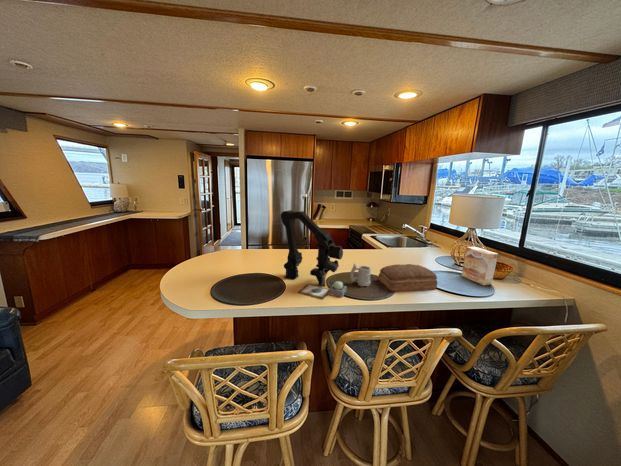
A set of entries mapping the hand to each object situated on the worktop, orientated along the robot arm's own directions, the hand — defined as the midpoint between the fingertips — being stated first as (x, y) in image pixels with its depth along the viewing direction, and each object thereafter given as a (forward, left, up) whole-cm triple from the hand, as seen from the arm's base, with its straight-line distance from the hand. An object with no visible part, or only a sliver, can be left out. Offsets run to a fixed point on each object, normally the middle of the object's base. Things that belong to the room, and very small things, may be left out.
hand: (321, 282), depth 134 cm
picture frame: (0, -9, -2) cm, 9 cm away
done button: (+11, -4, 0) cm, 12 cm away
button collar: (+11, -4, -2) cm, 12 cm away
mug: (+18, +13, -2) cm, 22 cm away
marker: (0, 0, -2) cm, 2 cm away
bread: (+42, +27, -2) cm, 50 cm away
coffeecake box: (+80, +57, -2) cm, 98 cm away
